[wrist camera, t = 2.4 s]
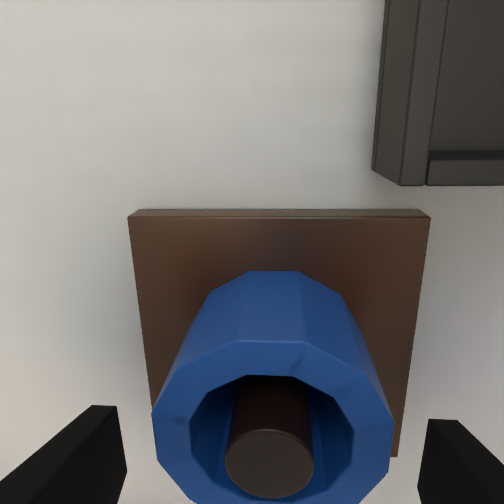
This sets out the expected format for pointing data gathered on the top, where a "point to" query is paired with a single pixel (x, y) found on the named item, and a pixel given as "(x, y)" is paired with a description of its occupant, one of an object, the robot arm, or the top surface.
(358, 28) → the top surface
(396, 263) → the tape holder
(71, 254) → the top surface
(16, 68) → the top surface
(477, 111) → the tray
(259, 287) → the tape roll
